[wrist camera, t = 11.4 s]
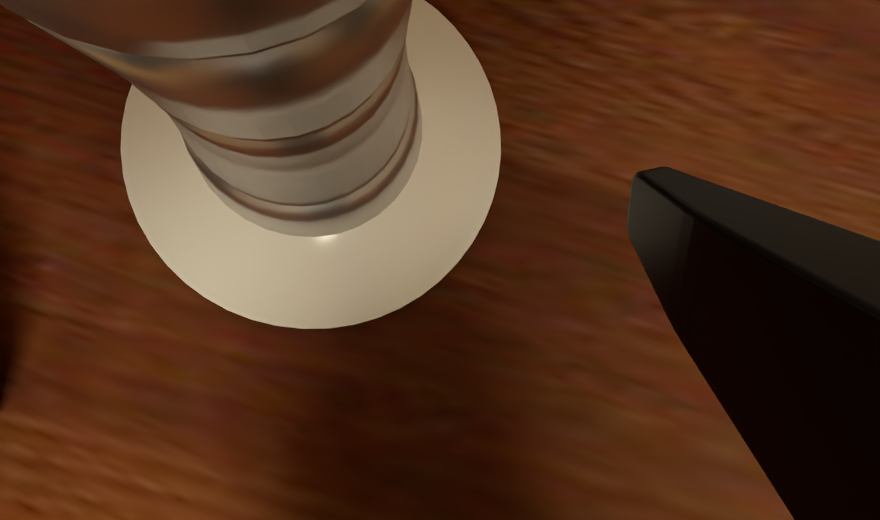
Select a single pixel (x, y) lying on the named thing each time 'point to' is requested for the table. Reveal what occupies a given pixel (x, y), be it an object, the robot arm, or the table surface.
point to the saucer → (340, 255)
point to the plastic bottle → (268, 96)
